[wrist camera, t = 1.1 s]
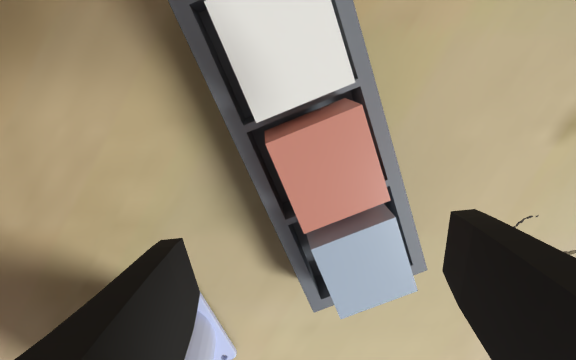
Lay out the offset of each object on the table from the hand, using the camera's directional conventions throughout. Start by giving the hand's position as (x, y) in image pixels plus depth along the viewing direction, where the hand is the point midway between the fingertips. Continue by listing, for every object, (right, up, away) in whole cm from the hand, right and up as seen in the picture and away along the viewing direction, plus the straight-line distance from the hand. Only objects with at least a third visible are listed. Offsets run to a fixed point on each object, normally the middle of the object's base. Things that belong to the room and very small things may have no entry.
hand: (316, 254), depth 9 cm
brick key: (+1, +3, +9) cm, 10 cm away
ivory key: (-1, +9, +7) cm, 11 cm away
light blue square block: (+3, -2, +11) cm, 12 cm away
